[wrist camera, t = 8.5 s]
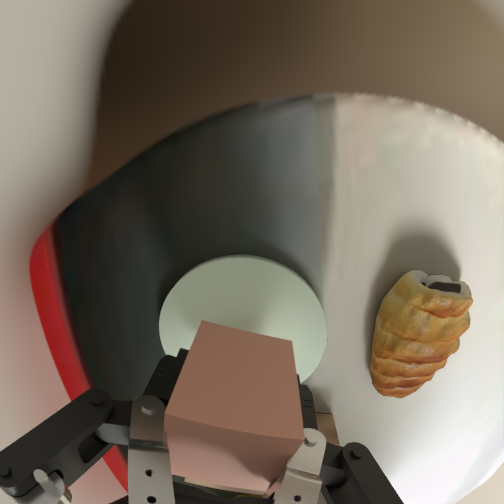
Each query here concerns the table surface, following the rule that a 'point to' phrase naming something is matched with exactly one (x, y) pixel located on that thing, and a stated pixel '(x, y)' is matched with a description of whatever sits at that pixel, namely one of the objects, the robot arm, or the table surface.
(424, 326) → the pastry
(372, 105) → the table surface
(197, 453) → the part
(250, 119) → the table surface
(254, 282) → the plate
